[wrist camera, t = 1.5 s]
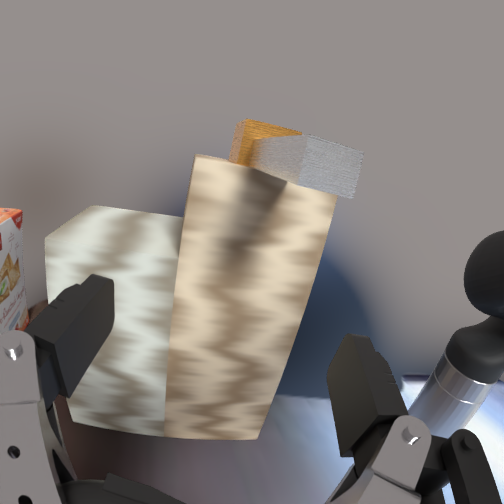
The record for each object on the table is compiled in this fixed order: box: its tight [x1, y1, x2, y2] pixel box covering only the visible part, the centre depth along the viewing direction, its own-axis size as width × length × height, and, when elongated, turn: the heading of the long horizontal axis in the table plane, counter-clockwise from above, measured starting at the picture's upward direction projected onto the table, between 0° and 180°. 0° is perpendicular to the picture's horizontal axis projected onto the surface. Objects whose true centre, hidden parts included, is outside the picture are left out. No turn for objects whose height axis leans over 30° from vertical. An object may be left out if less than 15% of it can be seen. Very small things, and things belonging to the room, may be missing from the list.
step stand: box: [45, 154, 338, 440], centre depth 33 cm, size 24×14×32 cm, turn 101°
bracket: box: [229, 119, 364, 199], centre depth 22 cm, size 5×20×4 cm, turn 11°
